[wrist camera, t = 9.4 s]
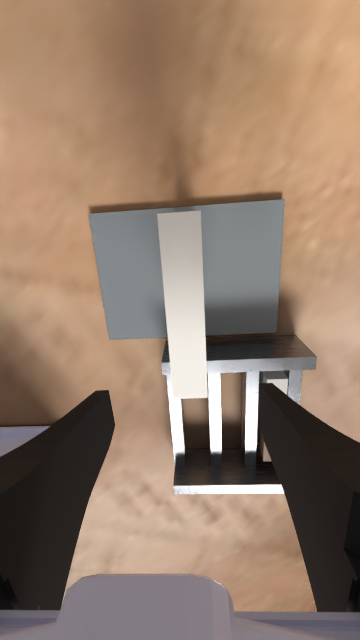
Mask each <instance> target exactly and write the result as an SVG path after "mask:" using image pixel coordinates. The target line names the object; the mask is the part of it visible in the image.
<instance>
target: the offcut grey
mask: <svg viewBox="0 0 360 640" xmlns="http://www.w3.org/2000/svg"><path fill="white" fill-rule="evenodd" d="M259 383H273V384H274V385H275V386H277V387H278V388H279V389H280V390H281V391H283V392H284V393H285V394H286V395H287V388H288V378H287V376H286V375H285V373H284V372H283V371H259ZM258 395H259V391H258Z"/></svg>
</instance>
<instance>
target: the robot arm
mask: <svg viewBox="0 0 360 640" xmlns="http://www.w3.org/2000/svg"><path fill="white" fill-rule="evenodd" d="M258 422H259V426H260V429H261V433H262V437H263V440H264V443H265V445H266V448H267V450H268V453H269V455H270V458H271V460H272V463H273V465H274V468H275V470H276V473H277V475H278V478H279V480H280V483H281V485H282V488H283V491H284V493H285V496H286V499H287V502H288V506H289V509H290V512H291V516H292V519H293V522H294V526H295V529H296V533H297V537H298V540H299V544H300V547H301V551H302V554H303V558H304V562H305V565H306V569H307V573H308V577H309V580H310V584H311V588H312V592H313V596H314V600H315V604H316V608H317V612H241V611H234V607H233V601H232V599H231V597H230V595H229V593H228V591H227V589H226V588H225V587H224V586H223V585H221V584H220V583H218V582H216V581H215V580H213V579H211V578H210V577H207V576H201V575H195V574H97V575H91V576H86V577H82V578H81V579H79V580H78V581H77V582H76V583H74V584H73V585H72V586H71V587H70V588H68V589H67V592H66V595H65V597H64V600H63V596H64V591H65V587H66V583H67V579H68V575H69V571H70V567H71V563H72V558H73V554H74V551H75V547H76V543H77V539H78V536H79V532H80V528H81V525H82V521H83V518H84V514H85V511H86V507H87V504H88V501H89V498H90V495H91V492H92V490H93V487H94V485H95V482H96V480H97V477H98V474H99V472H100V469H101V467H102V464H103V462H104V459H105V457H106V454H107V452H108V449H109V446H110V443H111V440H112V436H113V432H114V427H115V422H114V416H113V411H112V406H111V401H110V395H109V390H101V391H95V392H94V393H92V394H91V395H90V396H89V397H87V398H86V399H85V400H84V401H82V402H81V403H80V404H79V405H77V406H76V407H75V408H74V409H72V410H71V411H70V412H69V413H67V414H66V415H65V416H64V417H62V418H61V419H59V420H58V421H57V422H55V423H54V424H53V425H51V426H25V427H0V640H360V443H359V442H357V441H355V440H353V439H351V438H349V437H348V436H346V435H344V434H342V433H341V432H339V431H337V430H335V429H334V428H332V427H330V426H329V425H327V424H326V423H324V422H323V421H321V420H320V419H318V418H317V417H315V416H314V415H312V414H311V413H309V412H308V411H307V410H305V409H304V408H303V407H301V406H300V405H299V404H297V403H296V402H295V401H294V400H292V399H291V398H290V397H289V396H288V395H286V394H285V393H284V392H283V391H281V390H280V389H279V388H278V387H277V386H275V385H274V384H273V383H259V395H258ZM62 600H63V603H62ZM61 605H62V606H61Z"/></svg>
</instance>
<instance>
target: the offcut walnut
mask: <svg viewBox="0 0 360 640" xmlns="http://www.w3.org/2000/svg"><path fill="white" fill-rule="evenodd" d="M257 443H258V446H259V449H260V453H261V456H262V459H263V461H272V460H271V458H270V455H269V453H268V450H267V448H266V445H265V443H264V440H263V437H262V433H261V429H260V426H259V422H258V418H257Z"/></svg>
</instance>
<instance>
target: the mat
mask: <svg viewBox="0 0 360 640" xmlns="http://www.w3.org/2000/svg"><path fill="white" fill-rule="evenodd" d="M284 201H285V199H280V200H266V201H253V202H240V203H226V204H213V205H200V206H186V207H173V208H159V209H146V210H133V211H119V212H106V213H93V214H89V220H90V226H91V232H92V238H93V244H94V250H95V256H96V262H97V268H98V274H99V280H100V286H101V292H102V298H103V304H104V310H105V316H106V322H107V328H108V334H109V340H119V339H142V338H164V337H168V334H167V323H166V311H165V300H164V288H163V277H162V265H161V254H160V242H159V231H158V219H157V214H159V213H173V212H186V211H200V210H201V229H202V256H203V283H204V310H205V336H209V335H231V334H254V333H276V332H277V321H278V304H279V287H280V270H281V253H282V235H283V218H284Z"/></svg>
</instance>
